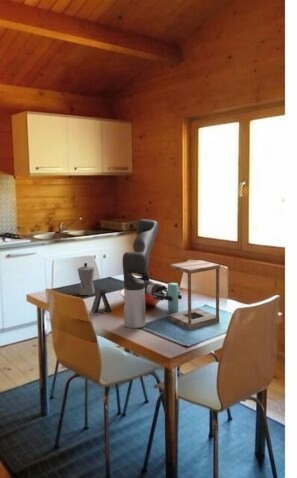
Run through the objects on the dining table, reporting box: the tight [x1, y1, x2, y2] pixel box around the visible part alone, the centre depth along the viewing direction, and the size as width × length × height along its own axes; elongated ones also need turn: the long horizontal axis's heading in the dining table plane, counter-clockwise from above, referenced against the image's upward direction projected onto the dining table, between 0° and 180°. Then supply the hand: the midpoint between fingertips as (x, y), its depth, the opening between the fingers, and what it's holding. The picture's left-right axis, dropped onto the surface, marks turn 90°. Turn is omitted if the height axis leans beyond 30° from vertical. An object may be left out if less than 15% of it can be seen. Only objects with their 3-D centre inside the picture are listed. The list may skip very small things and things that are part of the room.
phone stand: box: [90, 286, 113, 314], centre depth 216 cm, size 9×6×12 cm, turn 111°
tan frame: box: [167, 259, 221, 331], centre depth 198 cm, size 16×17×27 cm
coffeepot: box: [77, 262, 96, 296], centre depth 248 cm, size 15×9×18 cm, turn 12°
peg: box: [167, 282, 179, 314], centre depth 212 cm, size 5×5×14 cm
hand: (176, 298), depth 210 cm, fingers closed on peg, 5 cm apart
